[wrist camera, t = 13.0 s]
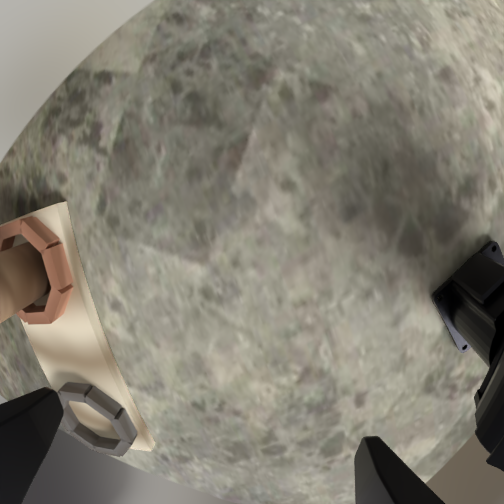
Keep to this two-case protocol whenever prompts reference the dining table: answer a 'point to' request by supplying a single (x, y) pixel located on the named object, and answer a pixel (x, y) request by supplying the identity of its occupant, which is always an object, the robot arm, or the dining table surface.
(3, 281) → the walnut peg
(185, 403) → the dining table surface
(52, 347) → the socket rail
